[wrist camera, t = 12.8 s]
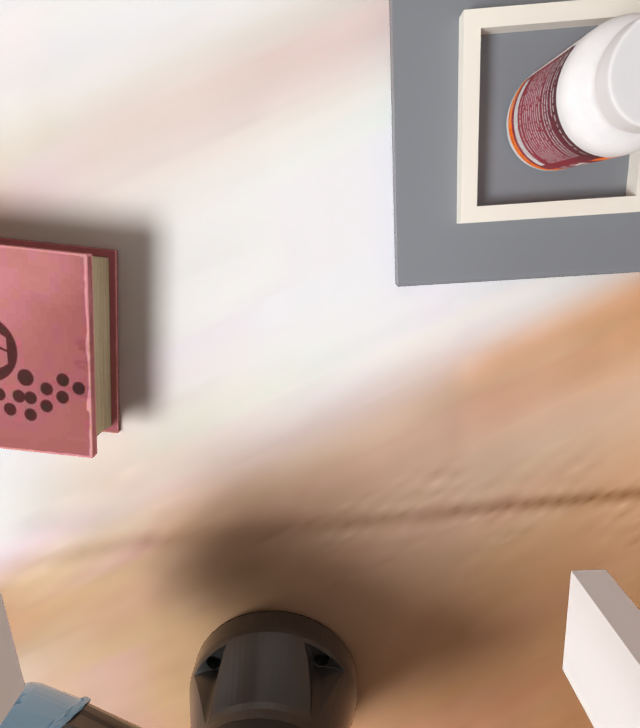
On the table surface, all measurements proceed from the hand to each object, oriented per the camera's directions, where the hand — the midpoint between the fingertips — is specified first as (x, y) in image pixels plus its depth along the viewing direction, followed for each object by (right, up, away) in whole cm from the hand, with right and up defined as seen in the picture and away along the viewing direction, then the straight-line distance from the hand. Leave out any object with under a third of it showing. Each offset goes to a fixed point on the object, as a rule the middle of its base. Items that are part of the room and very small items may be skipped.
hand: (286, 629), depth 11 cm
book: (-22, +9, +27) cm, 36 cm away
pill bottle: (+16, +22, +20) cm, 33 cm away
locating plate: (+16, +22, +21) cm, 34 cm away
